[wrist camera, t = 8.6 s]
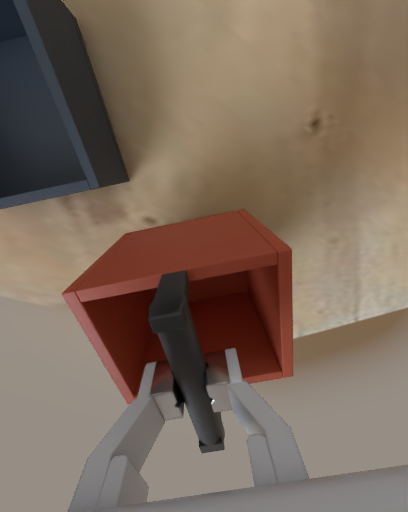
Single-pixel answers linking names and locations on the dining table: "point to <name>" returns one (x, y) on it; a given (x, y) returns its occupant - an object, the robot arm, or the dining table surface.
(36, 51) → the slate bin
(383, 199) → the dining table surface
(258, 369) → the terracotta bin
